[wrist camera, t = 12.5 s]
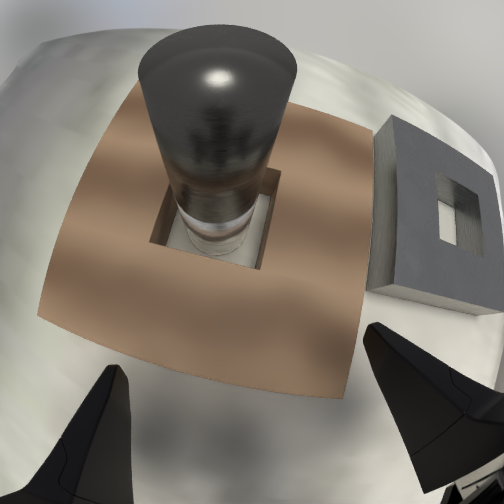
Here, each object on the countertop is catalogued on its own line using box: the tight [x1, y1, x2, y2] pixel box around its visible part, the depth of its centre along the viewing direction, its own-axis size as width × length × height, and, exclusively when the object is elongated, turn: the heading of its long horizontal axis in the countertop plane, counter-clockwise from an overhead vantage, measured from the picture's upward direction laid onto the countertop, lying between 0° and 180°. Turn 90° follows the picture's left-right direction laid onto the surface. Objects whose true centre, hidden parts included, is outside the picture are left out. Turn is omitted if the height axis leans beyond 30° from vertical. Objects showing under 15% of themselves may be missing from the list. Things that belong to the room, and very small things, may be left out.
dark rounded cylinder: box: [138, 25, 297, 255], centre depth 12 cm, size 4×4×13 cm
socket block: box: [366, 115, 504, 316], centre depth 19 cm, size 14×14×4 cm
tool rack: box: [37, 80, 373, 399], centre depth 16 cm, size 18×18×4 cm
